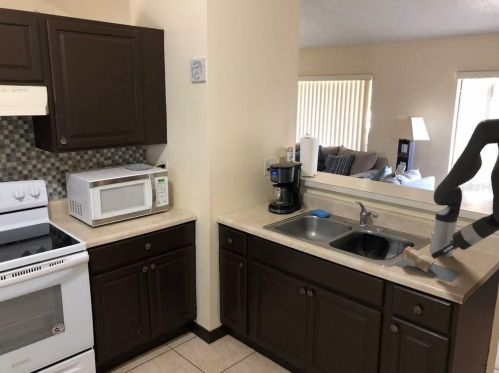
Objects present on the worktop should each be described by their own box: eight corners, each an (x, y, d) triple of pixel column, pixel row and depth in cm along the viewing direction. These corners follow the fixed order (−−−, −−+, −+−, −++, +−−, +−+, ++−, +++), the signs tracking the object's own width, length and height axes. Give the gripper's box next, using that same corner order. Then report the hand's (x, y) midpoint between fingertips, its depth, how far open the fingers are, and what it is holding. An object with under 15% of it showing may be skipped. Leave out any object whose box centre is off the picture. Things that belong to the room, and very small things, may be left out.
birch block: (426, 272, 175) (400, 257, 182) (430, 269, 178) (405, 254, 185) (430, 263, 173) (404, 248, 180) (434, 260, 177) (408, 246, 183)
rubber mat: (393, 266, 182) (393, 265, 182) (406, 257, 192) (406, 256, 192) (451, 284, 166) (451, 282, 166) (462, 273, 176) (462, 271, 176)
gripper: (467, 224, 170) (432, 244, 181) (456, 232, 160) (421, 253, 171) (479, 240, 167) (444, 259, 178) (469, 249, 158) (433, 269, 169)
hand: (433, 256), depth 175 cm, fingers closed
